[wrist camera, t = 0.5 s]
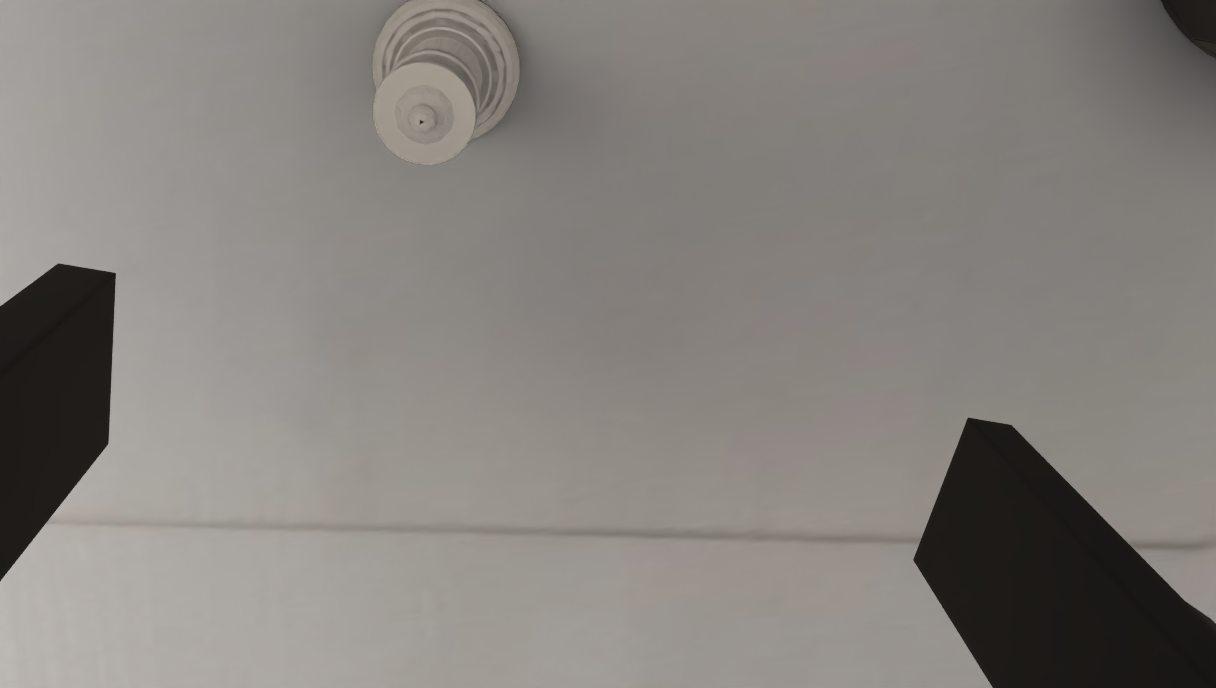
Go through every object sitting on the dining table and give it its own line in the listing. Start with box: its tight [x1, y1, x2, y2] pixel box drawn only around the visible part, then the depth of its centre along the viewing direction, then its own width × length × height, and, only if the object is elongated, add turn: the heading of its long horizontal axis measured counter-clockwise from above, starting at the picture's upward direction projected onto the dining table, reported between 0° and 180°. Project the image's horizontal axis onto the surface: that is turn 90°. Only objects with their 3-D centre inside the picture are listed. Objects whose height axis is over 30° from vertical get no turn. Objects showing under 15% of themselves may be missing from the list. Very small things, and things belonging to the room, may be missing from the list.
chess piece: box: [372, 0, 519, 165], centre depth 27 cm, size 4×4×10 cm
